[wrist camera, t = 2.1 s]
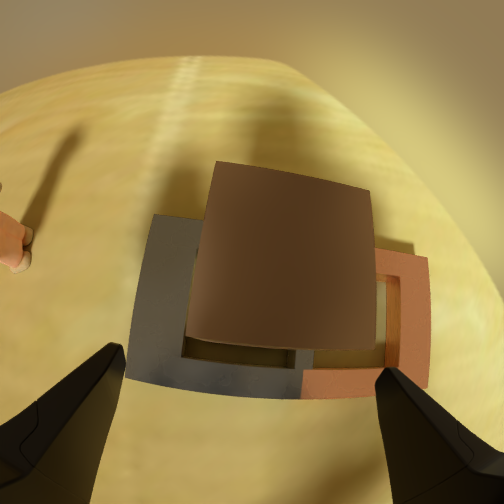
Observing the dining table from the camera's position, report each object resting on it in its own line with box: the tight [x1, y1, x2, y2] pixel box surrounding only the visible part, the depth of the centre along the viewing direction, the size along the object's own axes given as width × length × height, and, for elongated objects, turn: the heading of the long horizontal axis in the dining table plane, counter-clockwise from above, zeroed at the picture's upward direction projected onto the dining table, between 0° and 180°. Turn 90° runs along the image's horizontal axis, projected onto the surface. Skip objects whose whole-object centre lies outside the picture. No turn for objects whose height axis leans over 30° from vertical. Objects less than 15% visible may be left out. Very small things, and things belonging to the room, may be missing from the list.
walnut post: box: [185, 161, 376, 350], centre depth 13 cm, size 4×4×13 cm
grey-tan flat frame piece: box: [125, 214, 431, 399], centre depth 18 cm, size 22×11×2 cm, turn 84°
